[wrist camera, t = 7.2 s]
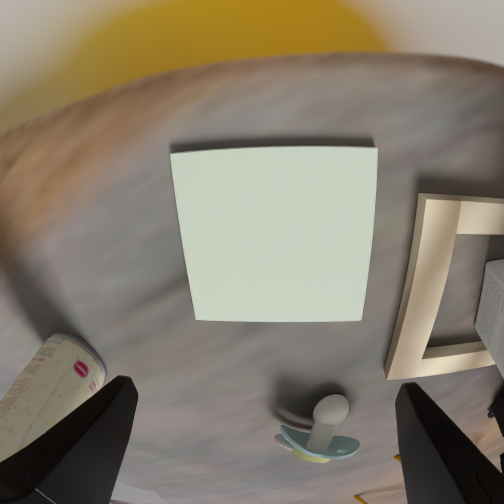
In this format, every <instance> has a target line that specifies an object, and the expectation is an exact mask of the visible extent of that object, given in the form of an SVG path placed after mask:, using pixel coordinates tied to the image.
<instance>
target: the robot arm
mask: <svg viewBox="0 0 504 504" xmlns="http://www.w3.org/2000/svg"><path fill="white" fill-rule="evenodd" d="M137 401H138V392H137V390H136V387H135V385H134V383H133V381H132V379H131V378H130V377H128V376H122V375H119V376H117V377H115V378H114V379H113V380H112V381H110V382H109V383H108V384H106V385H105V386H104V387H103V388H101V389H100V390H99V391H98V392H96V393H95V394H94V395H92V396H91V397H90V398H89V399H87V400H86V401H85V402H83V403H82V404H81V405H80V406H78V407H77V408H76V409H74V410H73V411H72V412H71V413H69V414H68V415H67V416H65V417H64V418H63V419H62V420H60V421H59V422H58V423H56V424H55V425H54V426H53V427H51V428H50V429H49V430H47V431H46V432H45V434H42V435H41V436H39V437H38V438H37V439H35V440H34V441H33V442H31V443H30V444H29V445H27V446H26V447H24V448H23V449H21V450H19V451H18V452H16V453H15V454H13V455H11V456H10V457H8V458H6V459H5V460H3V461H1V462H0V504H109V502H110V499H111V496H112V492H113V489H114V486H115V482H116V479H117V476H118V473H119V469H120V466H121V463H122V460H123V457H124V454H125V451H126V448H127V445H128V441H129V438H130V434H131V430H132V425H133V420H134V415H135V411H136V406H137ZM395 408H396V419H397V432H398V445H399V452H400V458H401V464H402V469H403V475H404V482H405V488H406V495H407V502H408V504H504V453H502V454H501V455H500V459H501V461H500V463H501V469H502V473H501V472H500V471H499V470H498V469H497V468H496V467H495V466H494V465H493V464H492V463H491V462H490V461H489V460H488V459H487V458H486V457H485V455H484V454H483V453H481V451H480V450H479V449H478V448H477V447H476V446H475V445H474V444H473V442H472V441H471V440H470V439H469V438H468V437H467V436H466V435H465V434H464V433H463V432H462V431H461V430H460V429H459V427H458V426H457V425H456V424H455V423H454V422H453V421H452V420H451V419H450V418H449V417H448V416H447V415H446V414H445V413H444V411H443V410H442V409H441V408H440V407H439V406H438V405H437V404H436V403H435V402H434V401H433V400H432V399H431V398H430V397H429V396H428V395H427V394H426V393H425V392H424V390H423V389H422V388H421V387H420V386H419V385H418V384H417V383H415V382H408V383H403V384H402V386H401V388H400V390H399V393H398V395H397V398H396V401H395ZM493 417H495V418H496V420H497V423H498V425H499V428H500V430H501V433H502V436H503V437H504V390H503V392H502V394H501V395H500V397H499V398H498V400H497V401H496V403H495V404H494V406H493V407H492V409H491V410H490V412H489V413H488V418H493Z"/></svg>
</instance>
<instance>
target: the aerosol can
mask: <svg viewBox="0 0 504 504" xmlns="http://www.w3.org/2000/svg"><path fill="white" fill-rule="evenodd" d="M106 376H107V371H106V366H105V364H104V363H103V361H102V359H101V357H100V356H99V355H98V354H97V353H96V351H95V350H94V349H93V348H91V347H90V346H89V345H88V344H87V343H86V342H84V341H83V340H81V339H80V338H78V337H76V336H74V335H72V334H69V333H67V332H55V333H52V334H51V336H50V337H49V338H48V339H47V341H46V342H45V343H44V344H43V346H42V347H41V348H40V349H39V351H38V352H37V353H36V355H35V356H34V357H33V358H32V360H31V361H30V362H29V364H28V365H27V366H26V368H25V369H24V370H23V372H22V373H21V374H20V376H19V377H18V378H17V380H16V381H15V383H14V384H13V385H12V387H11V388H10V389H9V391H8V392H7V394H6V395H5V397H4V398H3V399H2V401H1V402H0V462H1V461H3V460H5V459H6V458H8V457H10V456H11V455H13V454H15V453H16V452H18V451H19V450H21V449H23V448H24V447H26V446H27V445H29V444H30V443H31V442H33V441H34V440H35V439H37V438H38V437H39V436H41V435H42V434H45V432H46V431H47V430H49V429H50V428H51V427H53V426H54V425H55V424H56V423H58V422H59V421H60V420H62V419H63V418H64V417H65V416H67V415H68V414H69V413H71V412H72V411H73V410H74V409H76V408H77V407H78V406H80V405H81V404H82V403H83V402H85V401H86V400H87V399H89V398H90V397H91V396H92V395H94V394H95V393H96V392H98V391H99V390H100V388H101V386H102V385H103V382H104V381H105V379H106Z"/></svg>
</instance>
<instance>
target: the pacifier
mask: <svg viewBox="0 0 504 504" xmlns="http://www.w3.org/2000/svg"><path fill="white" fill-rule="evenodd" d="M348 412H349V404H348V401H347V399H346V398H345V397H344V396H342V395H338V394H333V395H329V396H327V397H325V398H323V399H322V400H321V401H320V402H319V403H318V404H317V405H316V407H315V409H314V411H313V419H314V421H315V423H314V425H313V427H312V430H311V432H310V433H305V432H301V431H298V430H295V429H291V428H289V427H287V426H284V425H281V427H280V430H281V432H282V434H278V435H276V436H275V437H274V438H275V441H276V442H277V443H278V444H279V445H281V446H283V447H285V448H287V449H289V450H292V453H293V454H294V455H295V456H297V457H299V458H301V459H303V460H306V461H310V462H316V463H326V462H328V461H330V460H331V459H343V458H347V457H350V456H352V455H353V454H355V453H356V452H357V450H358V449H359V446H360V443H359V441H358V440H356V439H354V438H351V437H345V436H334V434H335V431H336V429H337V426H338V425H339V424H341V423H342V422H343V421H344V420H345V418H346V417H347V415H348ZM339 452H345V453H339Z"/></svg>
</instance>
